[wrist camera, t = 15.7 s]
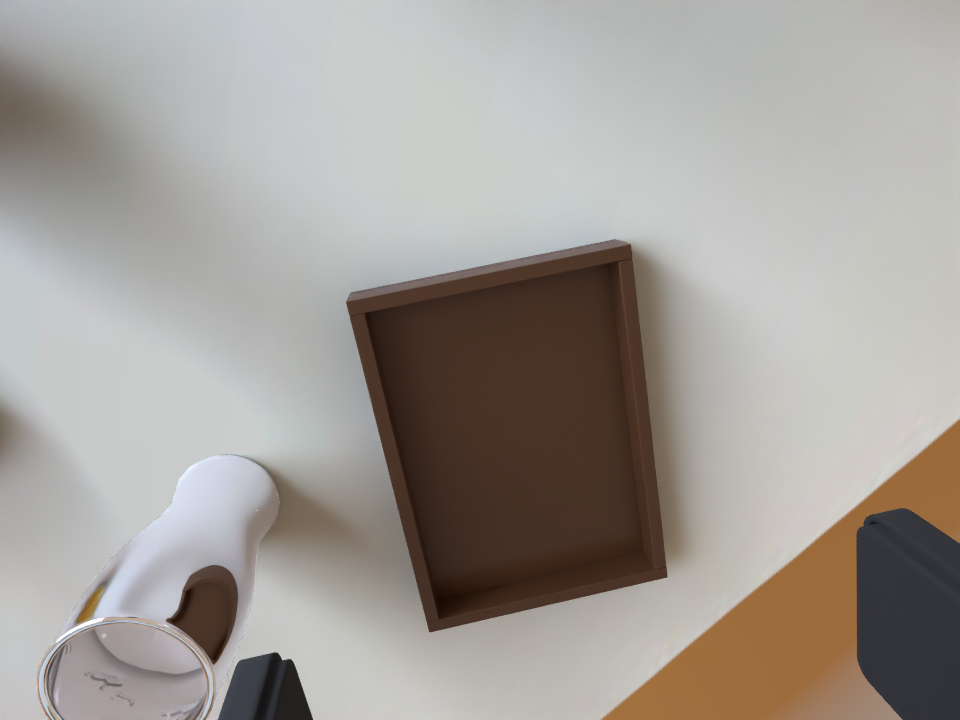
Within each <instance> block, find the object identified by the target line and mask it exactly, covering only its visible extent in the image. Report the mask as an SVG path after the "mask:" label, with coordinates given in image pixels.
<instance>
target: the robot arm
mask: <svg viewBox="0 0 960 720" xmlns="http://www.w3.org/2000/svg"><path fill="white" fill-rule="evenodd" d="M857 658H858V663H859V666H860V668H861V671H862V673H863V674H864V676H865V678H866V679H867V680H868V682H869V683H870V684H871V685H872V686H873V687H874V688H875V689H876V691H877V692H878V693H879V694H880V695H881V696H882V697H883V698H884V700H885V701H886V702H887V703H888V704H889V705H890V706H891V707H892V708H893V710H894V711H896V713H897V714H898V715H899V716H900V717H901V718H902V719H903V720H960V544H959V543H958V542H956V541H955V540H953V539H952V538H950V537H949V536H948V535H946V534H945V533H943V532H941V531H940V530H939V529H937V528H936V527H934V526H933V525H931V524H930V523H928V522H927V521H925V520H924V519H922V518H921V517H920V516H918V515H917V514H915V513H914V512H912V511H910V510H908V509H905V508H899V509H895V510H891V511H886V512H882V513H878V514H873V515H870V516H868V517H866V519H865V521H864V526H863V527H860V528H859V529H858V531H857ZM218 720H313V718H312V715H311V712H310V709H309V706H308V703H307V700H306V697H305V694H304V691H303V688H302V685H301V682H300V679H299V676H298V673H297V670H296V667H295V665H294V663H293V661H292V660H291V659H288V660H283V661H282V659H281V656H280V655H279V654H278V653H275V652H274V653H270V654H266V655H261V656H257V657H253V658H248V659H244V660H241V661H239V662H238V664H237V666H236V668H235V671H234V674H233V677H232V680H231V683H230V686H229V688H228V691H227V694H226V697H225V700H224V703H223V706H222V709H221V712H220V715H219V718H218Z"/></svg>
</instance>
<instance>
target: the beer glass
mask: <svg viewBox="0 0 960 720" xmlns="http://www.w3.org/2000/svg"><path fill="white" fill-rule="evenodd" d="M278 511H279V493H278V489H277V486H276V484H275V482H274V480H273V479H272V477H271V476H270V475H269V473H268V472H267V471H266V470H265V469H264V468H262V467H261V466H260V465H258V464H257V463H255V462H253V461H251V460H249V459H247V458H244V457H240V456H236V455H215V456H210V457H207V458H204V459H202V460H200V461H198V462H196V463H195V464H193V465H192V466H191V467H189V468H188V469H187V470H186V471H185V472H184V474H183V475H182V476H181V478H180V480H179V481H178V483H177V486H176V488H175V491H174V494H173V497H172V501H171V504H170V506H169V507H168V508H167V510H166V511H164V512H163V513H162V514H161V515H160V516H159V517H157V518H156V519H155V520H154V521H152V522H151V523H150V524H149V525H147V526H146V527H145V528H144V529H143V530H141V531H140V532H139V533H138V534H137V535H135V536H134V537H133V538H132V539H131V540H130V541H128V542H127V543H126V544H125V545H124V546H123V547H122V548H121V549H120V550H119V551H118V552H117V553H116V554H115V555H114V556H113V557H112V558H111V559H110V560H109V561H108V562H107V564H106V565H105V566H104V567H103V568H102V570H101V571H100V572H99V573H98V574H97V576H96V577H95V578H94V579H93V581H92V582H91V583H90V585H89V586H88V588H87V589H86V591H85V592H84V593H83V595H82V596H81V598H80V599H79V601H78V602H77V604H76V605H75V607H74V609H73V610H72V612H71V613H70V615H69V617H68V618H67V620H66V622H65V623H64V625H63V627H62V628H61V630H60V632H59V634H58V635H57V637H56V639H55V640H54V642H53V643H52V645H51V646H50V647H49V648H48V650H47V651H46V653H45V654H44V656H43V658H42V660H41V662H40V665H39V668H38V672H37V680H36V686H37V693H38V698H39V701H40V704H41V706H42V708H43V710H44V712H45V714H46V715H47V717H48V718H49V719H50V720H206V719H207V717H208V715H209V714H210V712H211V709H212V707H213V704H214V700H215V698H216V696H217V694H218V692H219V690H220V688H221V686H222V684H223V682H224V680H225V677H226V675H227V673H228V671H229V669H230V667H231V664H232V662H233V660H234V658H235V655H236V653H237V650H238V648H239V645H240V643H241V640H242V637H243V634H244V631H245V628H246V624H247V621H248V618H249V614H250V610H251V604H252V598H253V592H254V583H255V572H256V557H257V548H258V545H259V542H260V541H261V539H262V538H263V537H264V536H265V534H266V533H267V532H268V531H269V529H270V528H271V526H272V525H273V523H274V521H275V519H276V517H277V514H278Z"/></svg>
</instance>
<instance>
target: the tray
mask: <svg viewBox="0 0 960 720" xmlns="http://www.w3.org/2000/svg"><path fill="white" fill-rule="evenodd" d="M346 304H347V308H348V312H349V315H350V320H351V324H352V327H353V331H354V335H355V339H356V343H357V347H358V351H359V355H360V359H361V363H362V367H363V371H364V375H365V379H366V383H367V387H368V391H369V395H370V399H371V403H372V407H373V411H374V415H375V419H376V423H377V427H378V431H379V435H380V439H381V443H382V447H383V451H384V455H385V459H386V462H387V466H388V470H389V474H390V478H391V482H392V486H393V490H394V494H395V498H396V502H397V506H398V510H399V514H400V518H401V522H402V526H403V530H404V534H405V538H406V542H407V546H408V550H409V554H410V558H411V562H412V566H413V570H414V574H415V578H416V582H417V586H418V590H419V594H420V597H421V601H422V605H423V609H424V613H425V617H426V621H427V625H428V629H429V632H434V631H438V630H442V629H447V628H451V627H455V626H459V625H464V624H468V623H472V622H477V621H481V620H485V619H490V618H494V617H498V616H503V615H507V614H511V613H516V612H520V611H524V610H529V609H533V608H537V607H541V606H546V605H550V604H554V603H559V602H563V601H567V600H572V599H576V598H580V597H585V596H589V595H593V594H598V593H602V592H606V591H610V590H615V589H619V588H623V587H628V586H632V585H636V584H641V583H645V582H649V581H654V580H658V579H662V578H667V568H666V560H665V551H664V542H663V533H662V524H661V515H660V506H659V497H658V488H657V479H656V470H655V460H654V451H653V442H652V433H651V424H650V415H649V406H648V397H647V388H646V379H645V370H644V361H643V352H642V343H641V334H640V325H639V316H638V307H637V298H636V289H635V280H634V271H633V262H632V251H631V244H628V243H625V242H622V241H619V240H610V241H605V242H600V243H595V244H590V245H585V246H580V247H575V248H570V249H565V250H560V251H555V252H551V253H546V254H541V255H536V256H531V257H526V258H521V259H516V260H511V261H506V262H501V263H496V264H491V265H486V266H481V267H476V268H471V269H466V270H461V271H456V272H451V273H446V274H442V275H437V276H432V277H427V278H422V279H417V280H412V281H407V282H402V283H397V284H392V285H387V286H382V287H377V288H372V289H367V290H362V291H357V292H352V293H350V295H349V297H348V299H347V302H346Z"/></svg>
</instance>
